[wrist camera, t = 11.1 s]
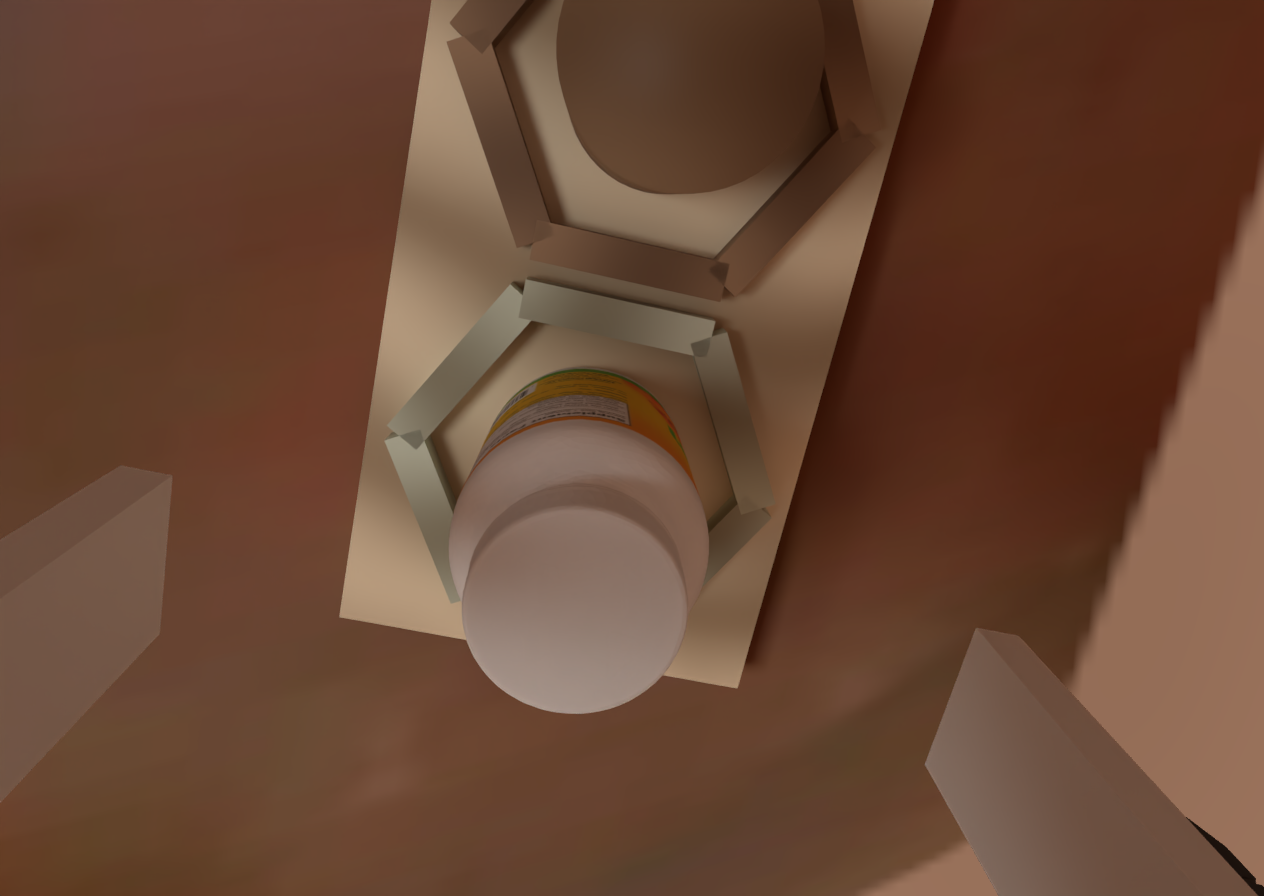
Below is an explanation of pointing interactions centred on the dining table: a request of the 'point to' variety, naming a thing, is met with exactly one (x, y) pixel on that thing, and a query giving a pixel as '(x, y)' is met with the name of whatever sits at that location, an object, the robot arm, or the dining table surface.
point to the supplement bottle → (578, 543)
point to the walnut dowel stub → (688, 86)
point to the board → (612, 301)
